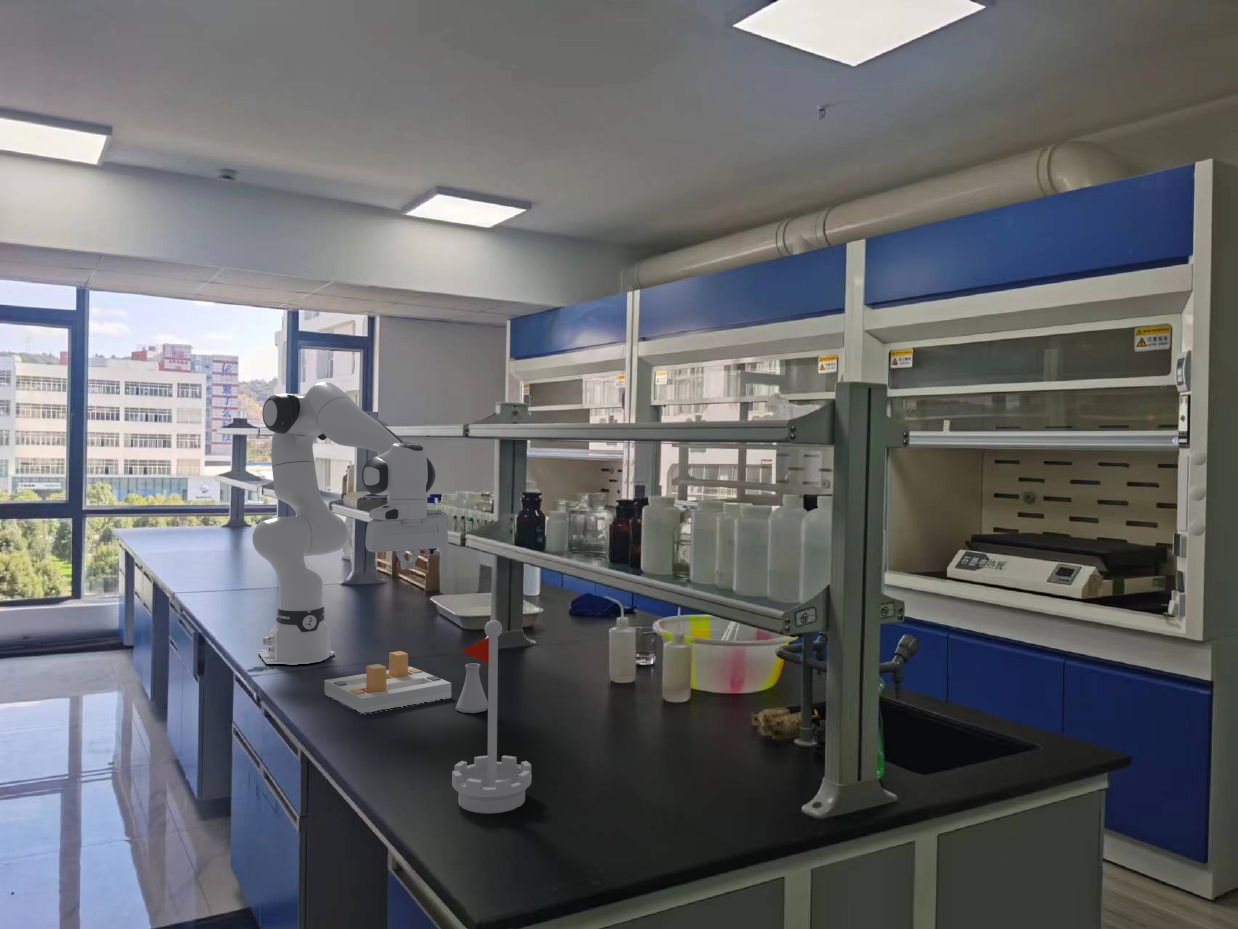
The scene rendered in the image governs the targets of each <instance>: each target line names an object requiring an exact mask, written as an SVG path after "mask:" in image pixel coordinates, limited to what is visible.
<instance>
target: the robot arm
mask: <svg viewBox="0 0 1238 929" xmlns="http://www.w3.org/2000/svg"><path fill="white" fill-rule="evenodd" d="M261 412H262V421H263V423H264V425H265V427H266V429H267V430H268V431H270V432H273V435H272V439H271V448H270V449H271V450H270V451H271V458H270V460H271V467H272V468H271V470H272V471H271V472H272V477H273V487H274V494H275V496H276V497H277V499H278V500H279V501H281V502H283V503H285V504H287V505H289V506H290V507H291V508H292V510H294V512H295V515H293V516H292V515H290V516H289V515H287V516H276V517H272V518H268V519H265V520H261V521H260V522H258V523H257V524H256V526H255V528H254V530H253V532H252V533H253V534H252V544H253V547H254V550H255V551H256V552H257V554H259V555H260V556H261V557H262V558H263V559H264V560H266V561H267V562H268V563H269V564H270V565H271V567H272V568H273V570H274V572H275V574H276V578H277V582H278V593H279V594H278V598H279V605H278V606H279V608H278V609H277V613H276V617H275V618H276V619H275V621H276V623H275V624H274V625H273V627H272V628H271V630H270V631H268V633H267V636H263V639H262V642H263V643H262V644H263V646H266V649H267V650H264V649H265V648H264V649H260V650H259V651H265V652H259V653H260V654H261V656H262V657H263V659H264V660H265V661H266V662H287V663H292V662H293V663H295V662H313V661H317V660H321V659H325V658H327V657H329V655H331V654H334V653H335V654H336V651H333V650H331V638H330V628H329V625H327V624H326V623H325V622H324V620H325V614H326V612H325V606H323V603H324V601H323V599H324V598H323V597H324V593H323V590H324V582H323V581H324V580H323V578H322V577H321V576H320V574H318V573H317V572H315V571H313V570H311V569H309V568H307V566H306V563H305V557H309V556H310V557H311V556H323V555H328V554H331V553H336V552H338V551H341V550H342V549H343V548H344V547H345V546H346V543H347V540H348V536H349V532H348V527H347V524H346V522H345V521H344V520H343V519H342V518H341V517H339V516H338V515H337V514H336V513H334V512H333V511H332V510H331V508H329V507H328V505H327V504H326V503H325V500H324V498H323V497H322V495H321V494H322V493H321V492H320V489H319V484H318V479H317V478H318V476H317V472H316V470H317V469H316V465H315V464H316V463H315V456H314V452H313V450H314V449H313V445H314V442H315V440H316V439H317V438H318V439H319V440H320V441H325V440H326V439H329V440H330V441H331V442H333V443H334V444H336V445H339V446H344V447H348V448H349V447H350V448H357V449H358V448H359V449H363V450H369V451H373V452H375V453H378V454H379V455H377V456H374V457H370V458H369V459H368V460H367V461H366V462H365V464H364V466H363V468H362V472H361V479H362V484H363V485H364V487H365V489H366V490H367V492H369V493H370V494H371V495H376V496H389V499H388V500H389V501H388V503H385V504H383V505H380V506H378V507H375V508H372V509H370V510H369V512H368V514H369V515H368V517H369V519H371V520H370V521H368V524H367V526H366V530H365V531H366V532H365V548H366V550H367V552H370V553H386V552H387V553H389V552H395V555H396V557H397V559H398V560H399V562H400V569H401V570H402V571H403V570H404V571H405V570H414V569H416V561H417V560H418V558H419V556H420V554H421V553H420V552H421V550H431V549H432V550H433V549H442V548H444V549H445V548H447V546H448V545H449V531H448V514H447V513H446V512H445V511H443V510H442V509H434V510H433V509H428V494H427V493H428V492H429V491H430V490H431V488H432V487H433V485H434V483H435V480H436V469H435V467H434V465H433V463H432V462H431V460H430V459H429V458H428V456H427V453H426V449H425V448H424V447H423V446H422V445H421V444H418V443H415V442H409V441H403V440H402V439H401V438H400V437H399V436H398V435H397V434H395V433H394V432H393V431H392V430H391V429H390V428H388V427H387V426H385V425H384V424H383V423H381V422H379V421H378V420H377V419H375V418H373V417H372V416H370V415H369V414H367V412H366V411H364V410H363V409H361V408H360V407H359V406H358V405H357V403H355V401H354V400H353V399H352V398H351V397H350V396H349V395H348V394H347V393H346V392H345V391H344V390H343V389H341V388H340V387H338V386H336V385H335V384H333V383H331V382H328V381H327V382H326V381H323V382H318V383H315V384H313V385H312V386H311V387H310V388H309V389H308V391H307V392H306V393H287V392H286V393H277V394H273V395H270V396H269V397H268V398H267V399H266V400H265V402H264V404H263V407H262V411H261ZM406 551H409V552H410V554H411V555H410V558H409V560H406V558H405V556H406V555H407V554H406ZM267 659H273V660H267Z"/></svg>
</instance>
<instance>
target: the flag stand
mask: <svg viewBox="0 0 1238 929" xmlns="http://www.w3.org/2000/svg"><path fill="white" fill-rule="evenodd" d="M484 633H485V635H486V636H487V637H486V638H484V639H482V640H481V641H478V642H477V643H475V644H472V645H470V646H468V647H465V648H464V649H462V650H461V652H463V653H465V654H467V655H469V656H471V657H473V658H475V659H477V660H479V661H481V662H484V663H485V664H487V665H488V671H487V672H488V677H487V680H488V682H487V683H488V684H487V685H488V686H487V687H488V688H487V689H488V690H487V692H488V693H487V698H488V699H487V701H488V709H487V755H480V756H474V757H473V758H474V759H473V761H474V762H473V764H469V765H468V762H467V761H466V760H465V761H464V760H461V761H459V762H457V763H456V764H454V770H452V771H451V777H452V779H451V786H452V788H453V789H454V790H455V791H456V792H457V793H458V796H457V797H458V799H457V801H458V805H459V807H461V808H462V809H463V810H466V811H469V812H473V813H479V814H498V813H499V814H501V813H504V812H509V811H513V810H516V809H517V807H518V808H519V807H521V806H522V805H523V804H524V803H525V802H526V790H527V788H529V787H530V786H531V784H532V764H531V763H530V762H528V761H527V760H524V761H521V762H520V764H519V763H517V760H518V759H517V756H512V755H502V756H501V761H498V759H497V758H498V687H499V686H498V683H499V682H498V668H499V667H498V666H499V665H498V664H499V662H498V661H499V660H498V658H499V636H501V634H502V633H503V625H502V623H501V622H500V621H499V620H496V619H491V620H489V621H487V622H486V624H485V625H484Z"/></svg>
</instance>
